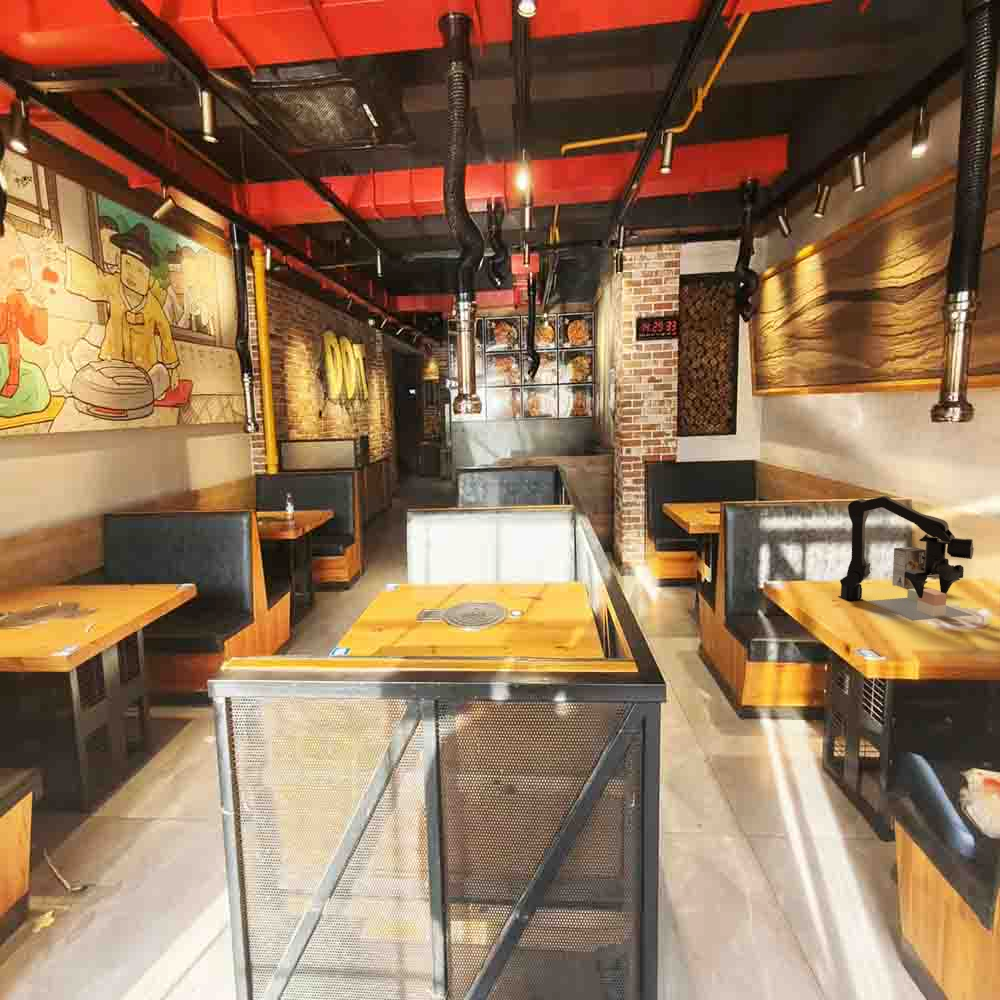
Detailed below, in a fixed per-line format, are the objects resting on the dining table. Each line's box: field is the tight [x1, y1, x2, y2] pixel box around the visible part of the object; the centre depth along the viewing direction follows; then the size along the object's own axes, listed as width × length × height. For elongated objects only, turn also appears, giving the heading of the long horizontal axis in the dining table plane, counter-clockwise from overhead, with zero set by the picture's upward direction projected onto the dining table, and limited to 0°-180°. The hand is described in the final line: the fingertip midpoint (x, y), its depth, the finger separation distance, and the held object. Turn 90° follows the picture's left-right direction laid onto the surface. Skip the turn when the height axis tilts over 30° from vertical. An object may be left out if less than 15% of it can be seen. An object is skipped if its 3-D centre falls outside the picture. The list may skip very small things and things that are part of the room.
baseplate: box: [865, 597, 973, 621], centre depth 216 cm, size 24×22×4 cm
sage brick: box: [906, 588, 918, 603], centre depth 222 cm, size 7×5×4 cm, turn 8°
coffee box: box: [891, 546, 926, 589], centre depth 242 cm, size 9×6×16 cm
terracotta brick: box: [918, 588, 947, 606], centre depth 209 cm, size 7×5×4 cm, turn 8°
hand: (931, 597), depth 209 cm, fingers open, 9 cm apart
